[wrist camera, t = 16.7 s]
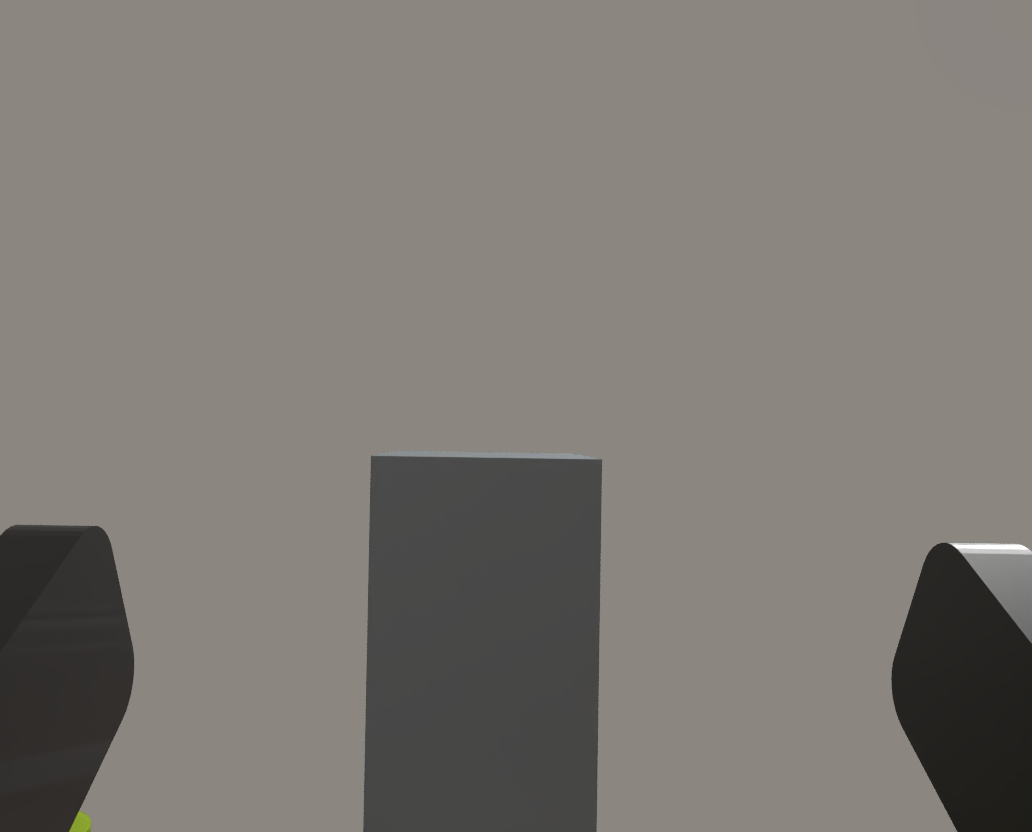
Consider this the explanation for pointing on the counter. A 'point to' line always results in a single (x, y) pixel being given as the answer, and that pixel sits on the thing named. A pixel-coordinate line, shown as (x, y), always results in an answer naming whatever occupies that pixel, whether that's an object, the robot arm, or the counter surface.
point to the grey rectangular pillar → (483, 642)
